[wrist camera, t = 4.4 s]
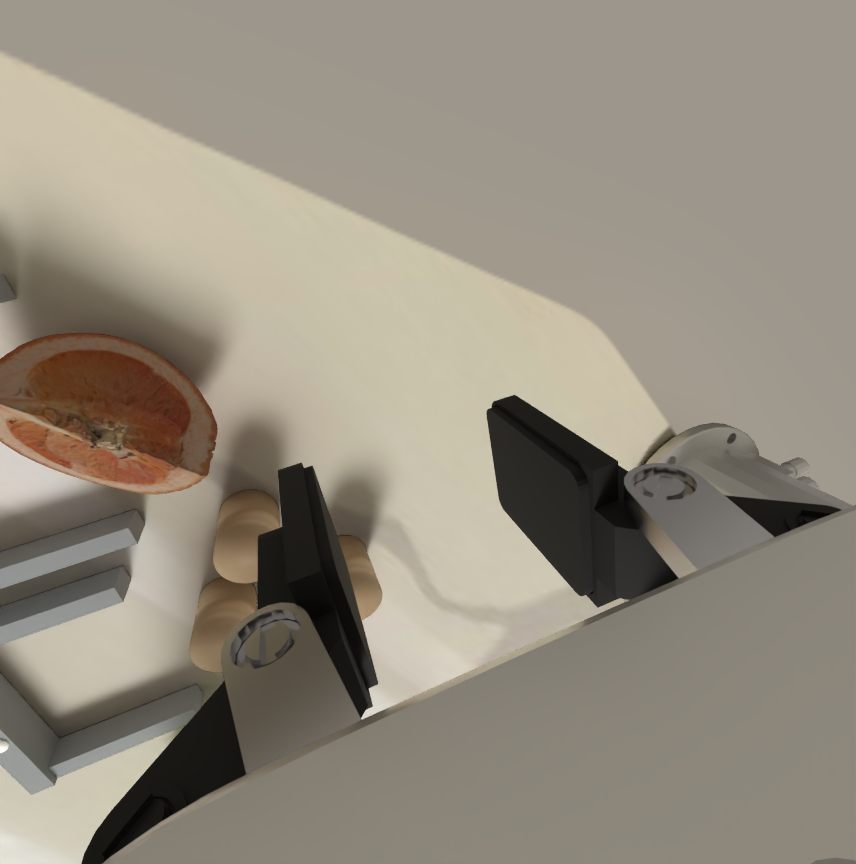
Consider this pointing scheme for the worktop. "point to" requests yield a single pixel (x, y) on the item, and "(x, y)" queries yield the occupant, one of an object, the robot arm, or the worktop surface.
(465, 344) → the worktop surface
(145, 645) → the worktop surface
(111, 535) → the corral
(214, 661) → the cork
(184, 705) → the corral
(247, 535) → the cork
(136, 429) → the fruit slice
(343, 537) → the cork
